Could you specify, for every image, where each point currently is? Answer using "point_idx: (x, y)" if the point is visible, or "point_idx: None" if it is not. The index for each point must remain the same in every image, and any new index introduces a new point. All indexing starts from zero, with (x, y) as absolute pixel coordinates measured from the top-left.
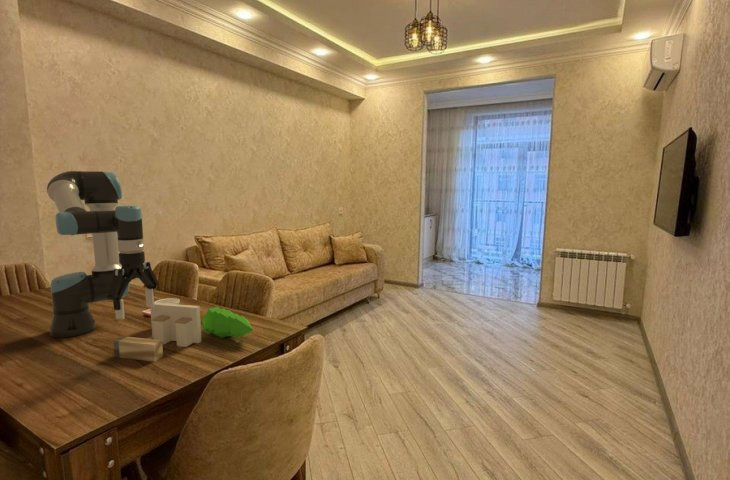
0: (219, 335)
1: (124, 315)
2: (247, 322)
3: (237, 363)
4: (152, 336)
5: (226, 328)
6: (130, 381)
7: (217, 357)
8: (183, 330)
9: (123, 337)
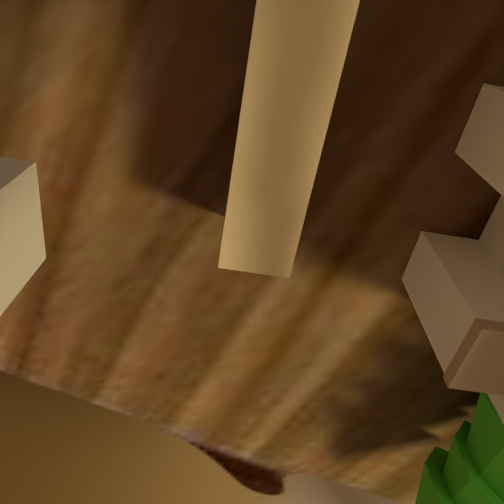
0: None
1: (26, 281)
2: None
3: (239, 468)
4: None
5: (457, 463)
6: None
7: (283, 413)
8: (434, 330)
9: None
